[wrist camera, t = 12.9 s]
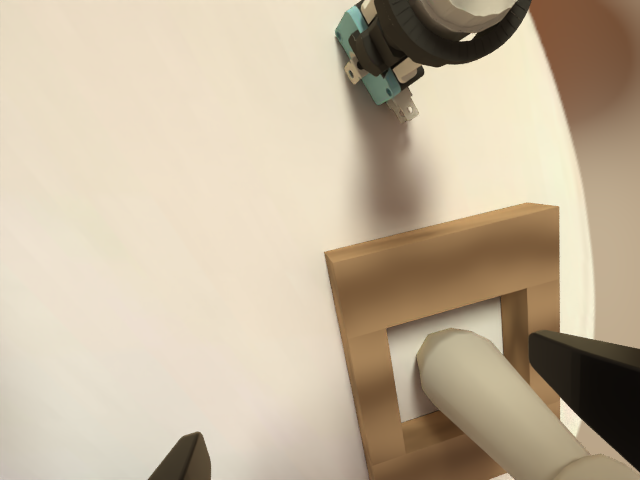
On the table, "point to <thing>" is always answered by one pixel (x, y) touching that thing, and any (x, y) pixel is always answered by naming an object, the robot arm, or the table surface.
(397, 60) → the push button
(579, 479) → the salt shaker
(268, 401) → the table surface
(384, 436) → the wooden flat frame
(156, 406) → the table surface
